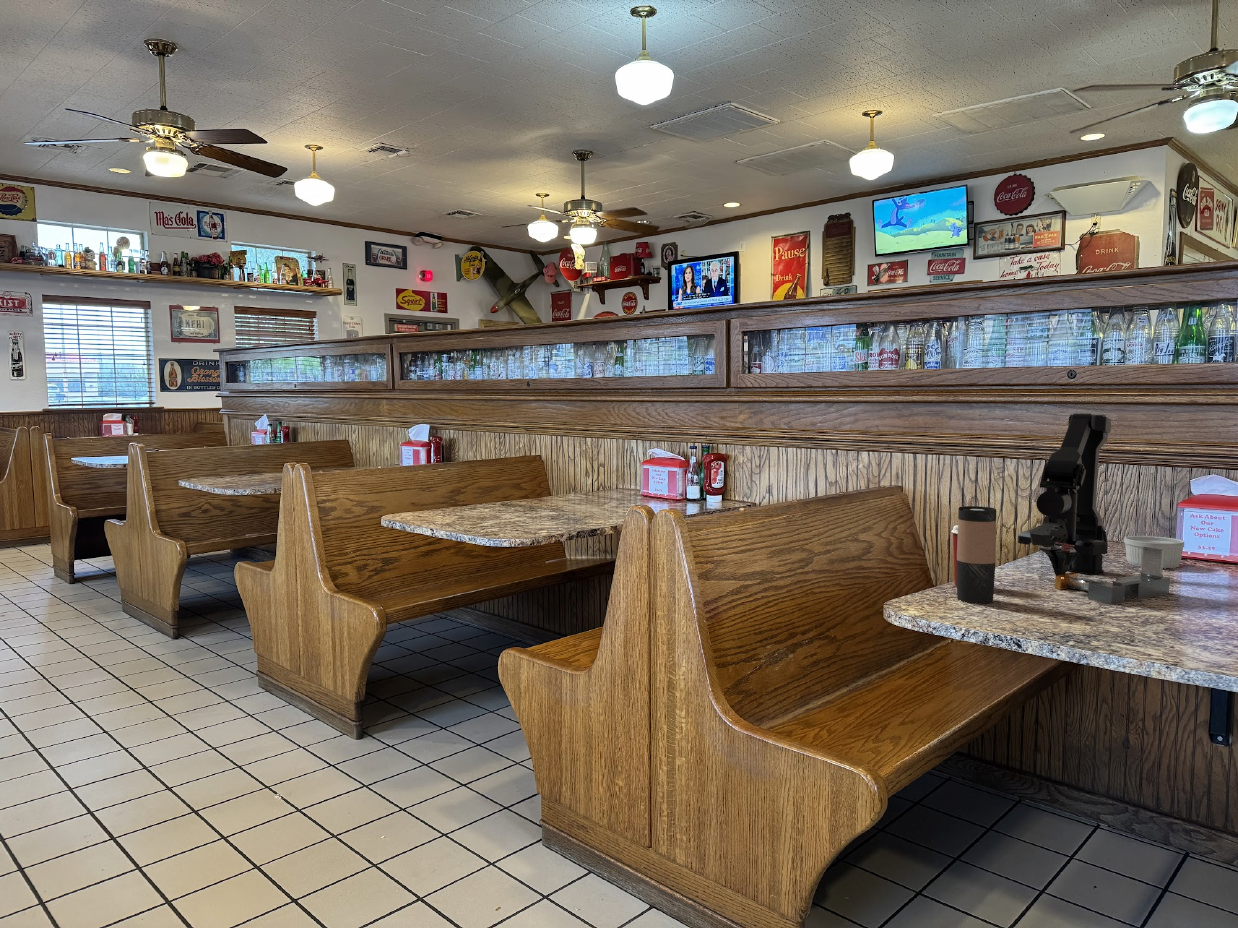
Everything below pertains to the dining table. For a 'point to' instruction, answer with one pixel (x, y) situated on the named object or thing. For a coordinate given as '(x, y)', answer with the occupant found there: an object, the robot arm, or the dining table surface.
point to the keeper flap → (1152, 562)
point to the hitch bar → (1128, 588)
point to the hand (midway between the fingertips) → (1059, 579)
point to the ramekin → (1169, 545)
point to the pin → (1072, 582)
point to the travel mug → (976, 554)
